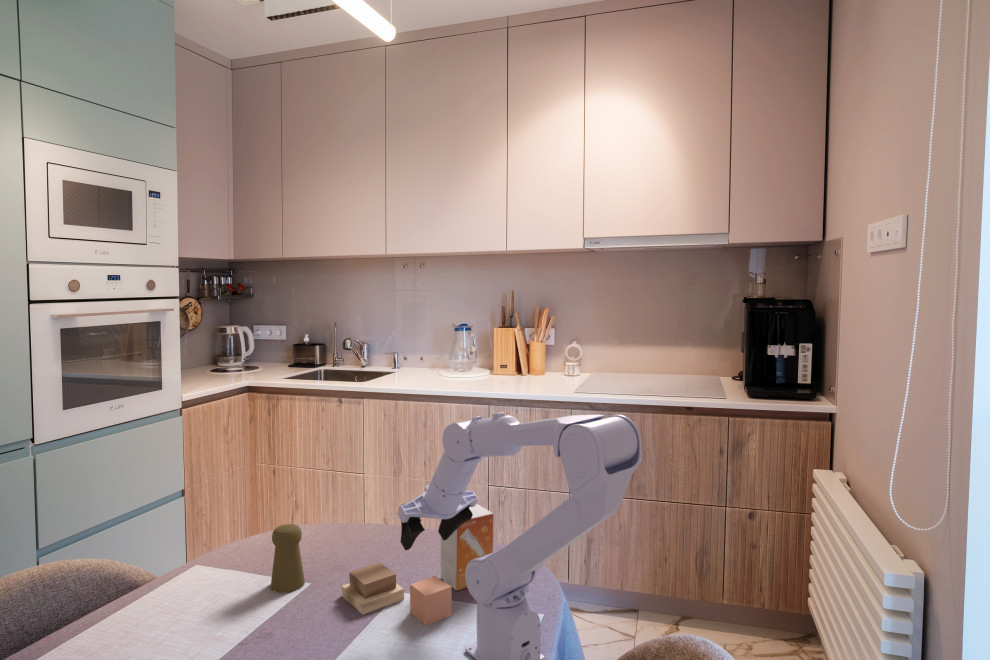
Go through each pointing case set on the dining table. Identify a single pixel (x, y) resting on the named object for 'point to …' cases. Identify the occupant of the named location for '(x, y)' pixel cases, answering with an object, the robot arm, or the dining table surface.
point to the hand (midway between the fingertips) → (423, 540)
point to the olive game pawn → (287, 559)
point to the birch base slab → (372, 598)
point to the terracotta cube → (430, 600)
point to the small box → (466, 546)
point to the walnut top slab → (372, 580)
